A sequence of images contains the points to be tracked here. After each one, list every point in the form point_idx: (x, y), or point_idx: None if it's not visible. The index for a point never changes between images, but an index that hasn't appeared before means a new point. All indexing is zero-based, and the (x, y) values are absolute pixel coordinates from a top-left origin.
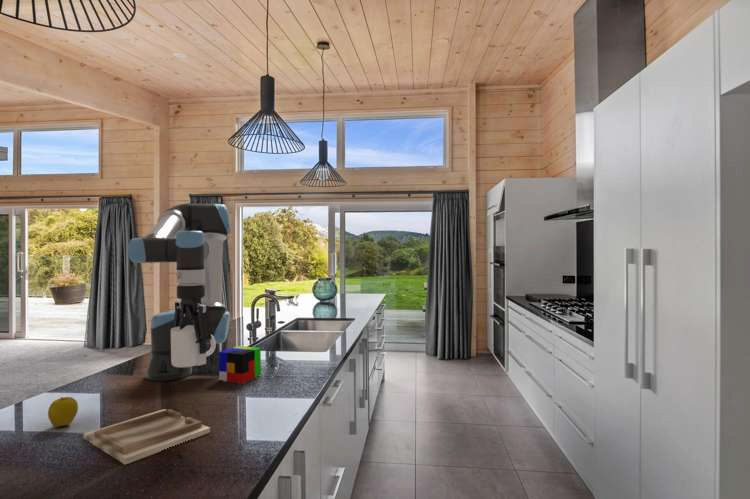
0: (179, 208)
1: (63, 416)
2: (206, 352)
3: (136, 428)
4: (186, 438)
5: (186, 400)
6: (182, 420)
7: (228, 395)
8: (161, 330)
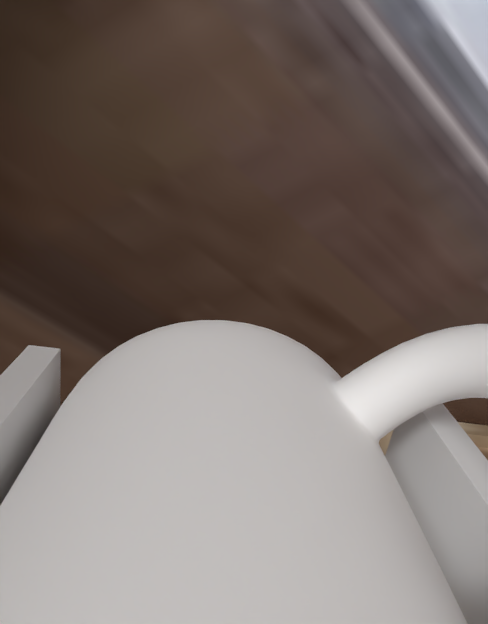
0: None
1: None
2: (430, 407)
3: None
4: None
5: (111, 221)
6: (382, 445)
7: (271, 14)
8: None
